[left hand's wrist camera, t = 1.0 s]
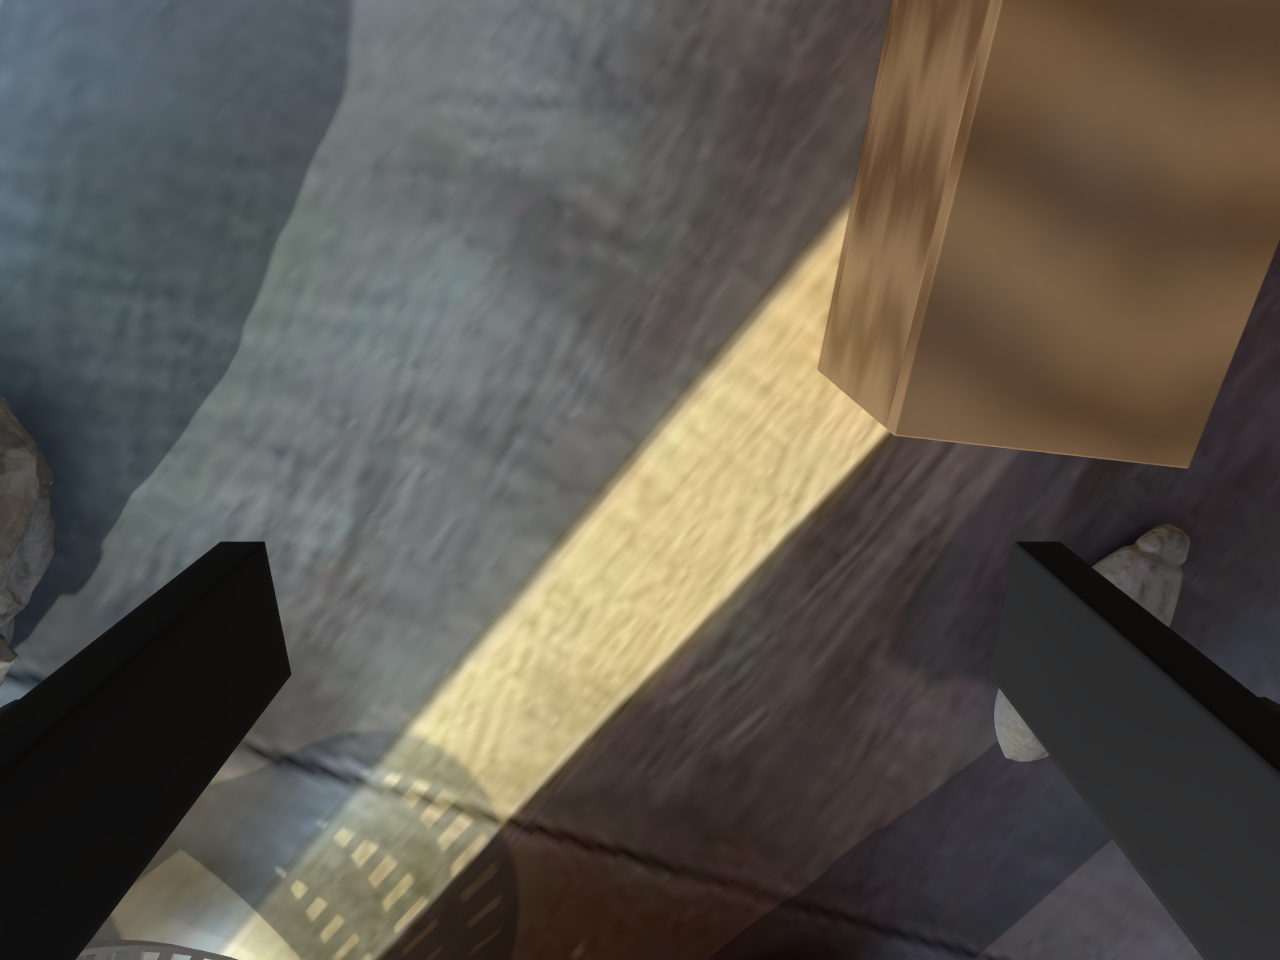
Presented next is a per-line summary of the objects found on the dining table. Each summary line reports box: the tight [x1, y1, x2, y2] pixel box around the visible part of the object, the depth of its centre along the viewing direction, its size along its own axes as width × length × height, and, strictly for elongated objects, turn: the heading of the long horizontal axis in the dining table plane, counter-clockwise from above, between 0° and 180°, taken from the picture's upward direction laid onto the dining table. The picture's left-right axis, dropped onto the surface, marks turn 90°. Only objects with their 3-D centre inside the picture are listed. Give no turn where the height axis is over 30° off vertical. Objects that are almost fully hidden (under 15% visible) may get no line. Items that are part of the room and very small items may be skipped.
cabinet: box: [818, 0, 1280, 468], centre depth 27 cm, size 17×11×11 cm, turn 173°
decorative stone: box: [994, 524, 1190, 762], centre depth 39 cm, size 6×16×3 cm, turn 157°
